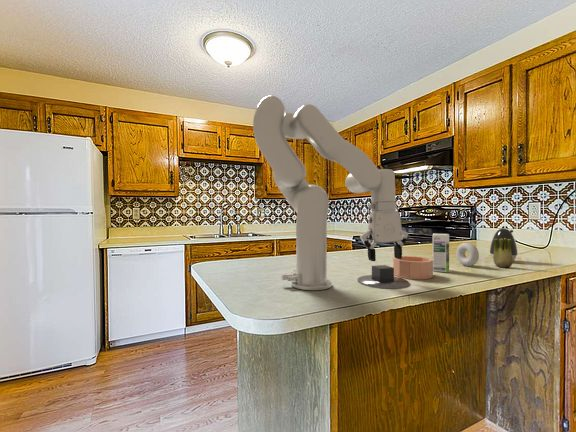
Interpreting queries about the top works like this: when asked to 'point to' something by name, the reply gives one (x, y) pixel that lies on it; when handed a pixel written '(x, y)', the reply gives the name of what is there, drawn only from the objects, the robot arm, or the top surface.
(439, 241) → the syrup box
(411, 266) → the bowl
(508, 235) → the dark glossy dome
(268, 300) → the top surface
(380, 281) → the lid
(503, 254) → the fennel bulb
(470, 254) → the donut
